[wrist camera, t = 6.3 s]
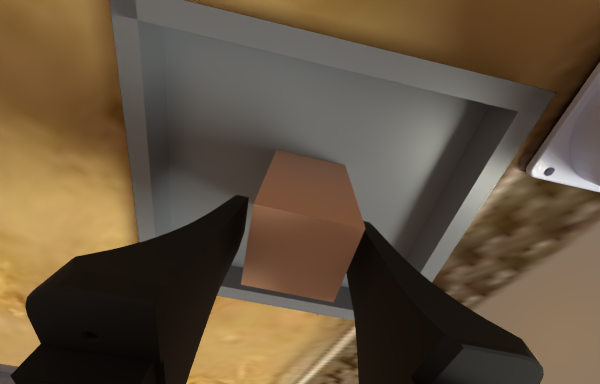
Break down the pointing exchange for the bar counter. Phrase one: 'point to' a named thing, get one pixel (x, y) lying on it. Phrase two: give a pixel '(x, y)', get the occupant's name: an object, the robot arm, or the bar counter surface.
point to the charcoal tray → (307, 129)
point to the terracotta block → (302, 228)
